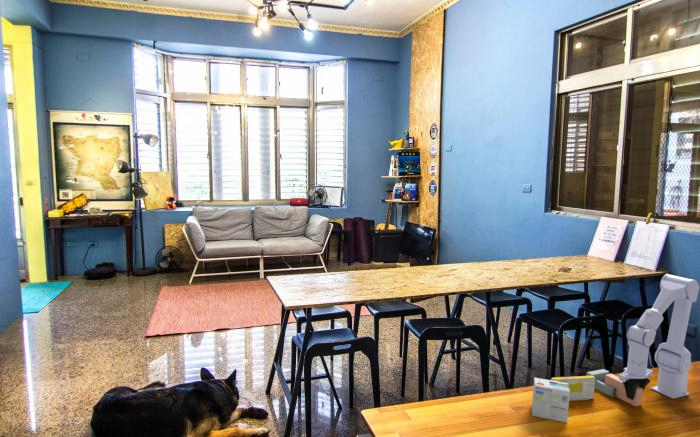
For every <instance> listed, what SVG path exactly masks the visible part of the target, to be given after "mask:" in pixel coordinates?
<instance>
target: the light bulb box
mask: <svg viewBox="0 0 700 437" xmlns="http://www.w3.org/2000/svg"><path fill="white" fill-rule="evenodd" d="M532 388H533V389H532V400H531V401H532V403H531V412H532V413H531V414H532V415H531V416H532V417H536V418H542V419H546V420H553V421H556V422H562V423H566V424H567V423H568V419H569V418H568V417H569V406H570V405H569V404H570V401H569V397H570V390H569V387H568V383H565V382H558V381H552V380H551V379H546V378H538V377H536V376H535V377H533V387H532Z"/></svg>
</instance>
